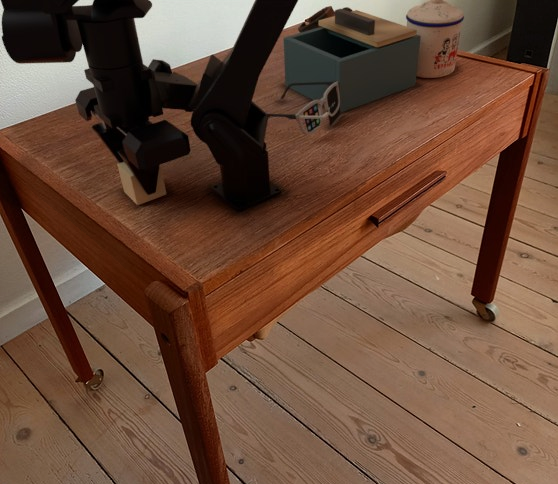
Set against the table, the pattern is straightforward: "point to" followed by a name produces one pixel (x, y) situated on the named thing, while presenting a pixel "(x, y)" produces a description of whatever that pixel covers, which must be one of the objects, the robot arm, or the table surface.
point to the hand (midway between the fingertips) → (143, 186)
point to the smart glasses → (316, 108)
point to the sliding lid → (367, 27)
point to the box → (349, 66)
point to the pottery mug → (319, 18)
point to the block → (134, 187)
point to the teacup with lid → (436, 36)
